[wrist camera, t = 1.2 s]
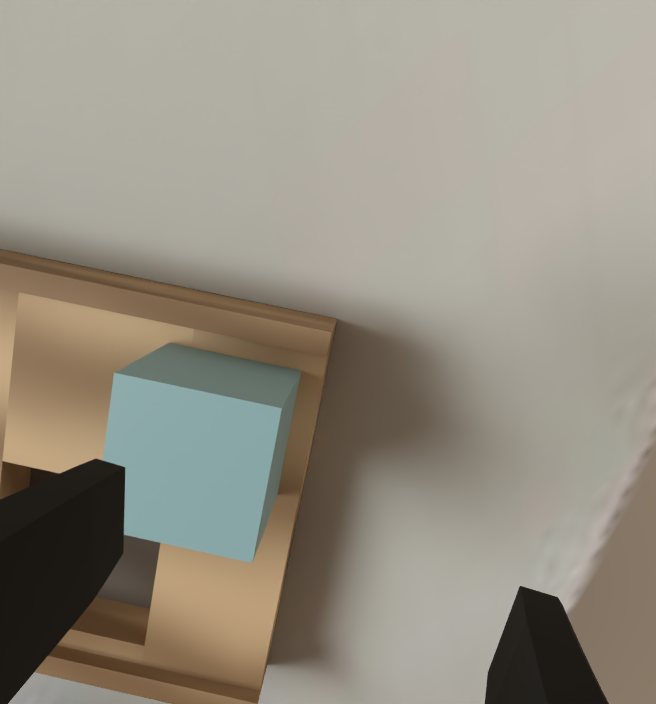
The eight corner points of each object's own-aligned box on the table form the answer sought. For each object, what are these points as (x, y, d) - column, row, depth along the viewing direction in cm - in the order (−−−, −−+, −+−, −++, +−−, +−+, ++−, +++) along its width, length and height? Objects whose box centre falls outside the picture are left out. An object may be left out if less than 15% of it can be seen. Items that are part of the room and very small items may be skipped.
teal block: (277, 494, 22) (252, 562, 17) (150, 467, 22) (93, 527, 17) (301, 370, 21) (281, 408, 16) (169, 342, 21) (114, 372, 16)
